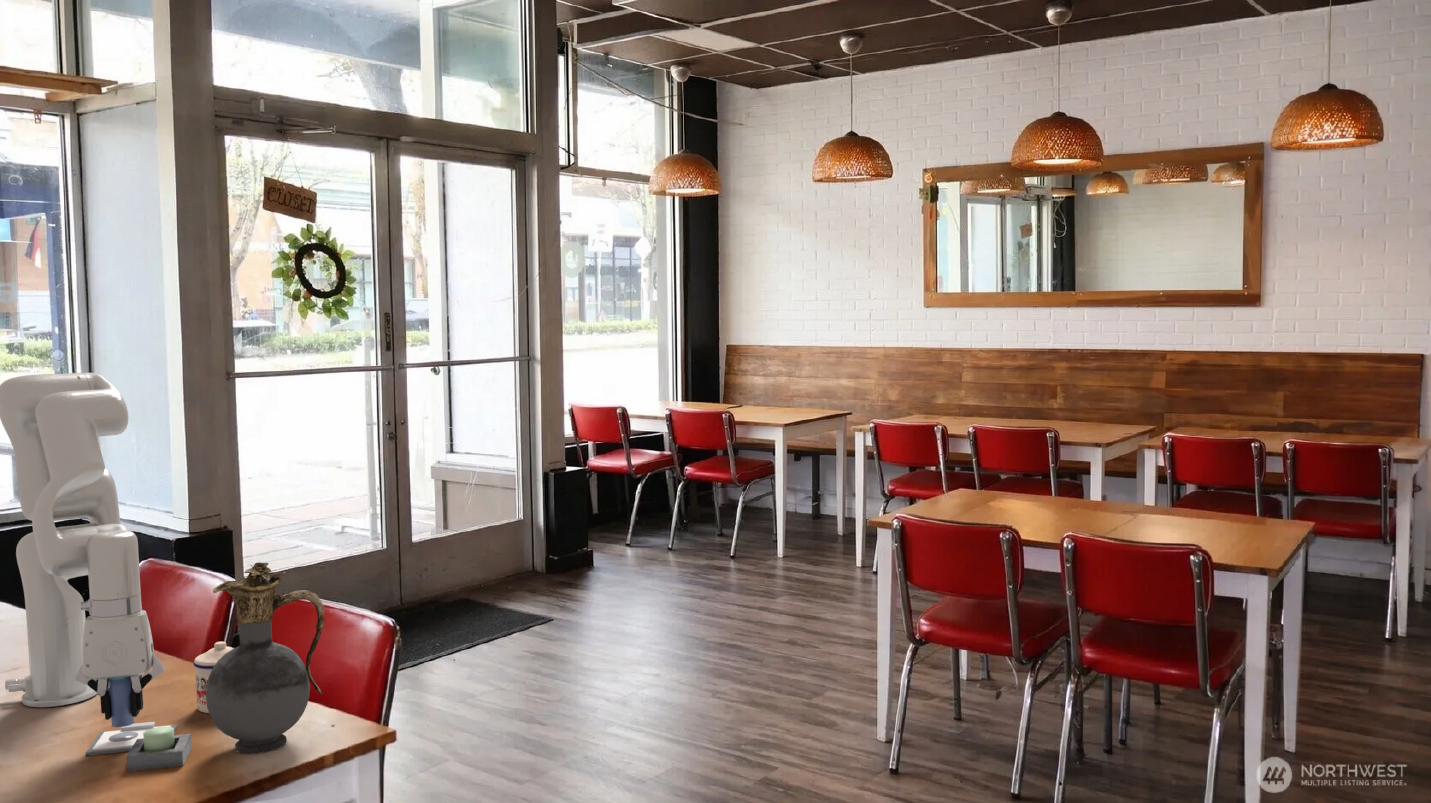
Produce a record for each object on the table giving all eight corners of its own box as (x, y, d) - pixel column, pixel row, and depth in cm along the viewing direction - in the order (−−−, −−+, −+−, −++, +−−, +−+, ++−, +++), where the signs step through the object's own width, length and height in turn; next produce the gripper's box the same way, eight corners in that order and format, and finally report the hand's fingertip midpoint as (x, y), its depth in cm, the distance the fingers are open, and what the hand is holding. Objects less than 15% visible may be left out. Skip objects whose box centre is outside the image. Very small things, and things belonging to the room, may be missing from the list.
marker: (113, 721, 200) (110, 665, 199) (137, 719, 201) (134, 663, 200) (108, 728, 196) (105, 671, 196) (132, 726, 197) (129, 669, 197)
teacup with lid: (185, 708, 215) (182, 644, 214) (232, 695, 223) (229, 633, 222) (222, 721, 208) (219, 655, 207) (269, 706, 215) (266, 643, 214)
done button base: (127, 771, 186) (126, 756, 185) (138, 753, 193) (137, 739, 193) (183, 765, 188) (182, 750, 187) (191, 748, 195) (190, 733, 195)
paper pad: (85, 755, 193) (85, 748, 193) (100, 734, 203) (100, 727, 202) (166, 747, 196) (166, 739, 196) (177, 726, 206) (177, 719, 205)
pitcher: (201, 748, 195) (192, 566, 193) (318, 722, 207) (311, 550, 204) (219, 767, 187) (209, 577, 184) (340, 739, 198) (332, 560, 196)
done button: (141, 756, 188) (140, 737, 187) (147, 746, 192) (146, 728, 192) (172, 753, 189) (171, 734, 189) (177, 743, 193) (176, 725, 193)
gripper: (54, 616, 192) (61, 728, 193) (166, 607, 196) (172, 717, 197) (66, 605, 199) (73, 714, 200) (174, 597, 203) (180, 703, 204)
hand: (122, 714), depth 199 cm, fingers closed on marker, 3 cm apart
